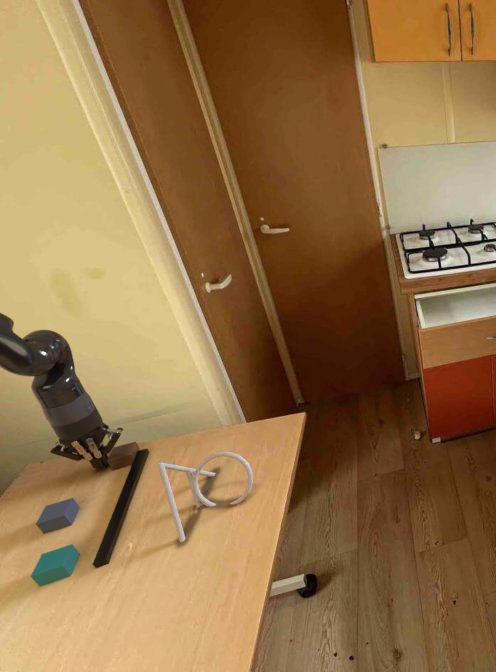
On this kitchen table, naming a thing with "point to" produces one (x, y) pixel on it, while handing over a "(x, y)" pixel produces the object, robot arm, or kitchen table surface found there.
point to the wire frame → (195, 488)
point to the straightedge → (120, 510)
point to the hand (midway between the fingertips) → (102, 466)
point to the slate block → (58, 515)
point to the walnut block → (123, 455)
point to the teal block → (55, 565)
